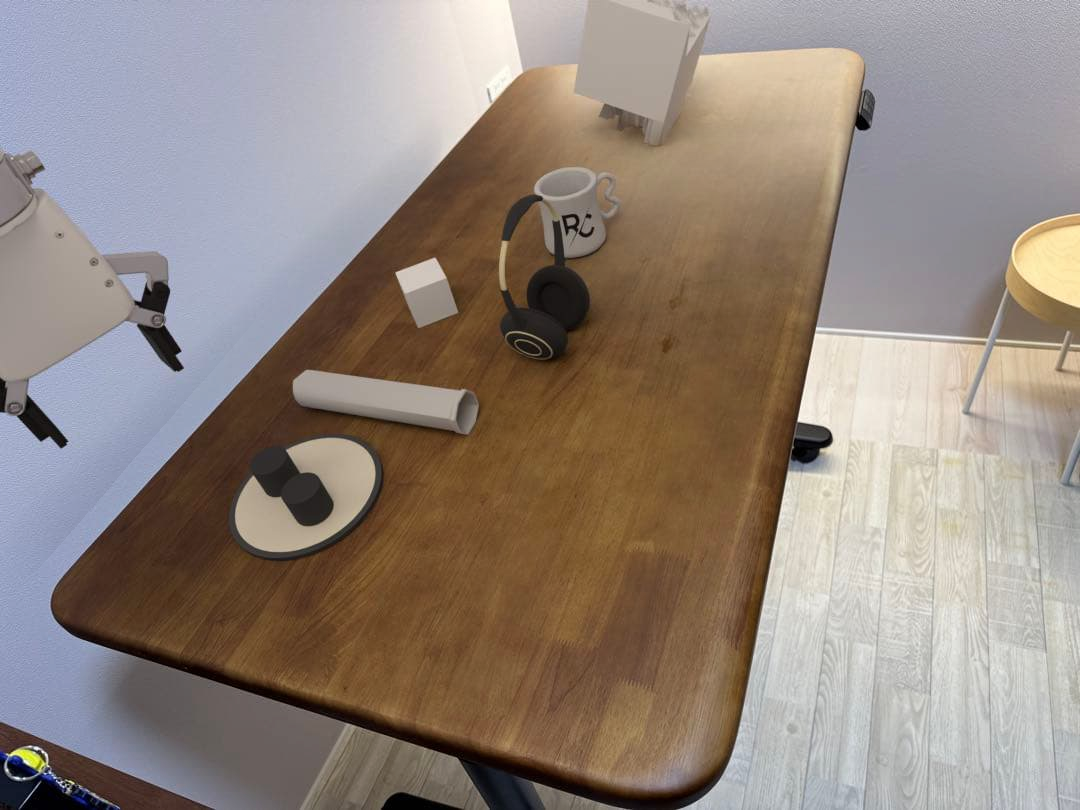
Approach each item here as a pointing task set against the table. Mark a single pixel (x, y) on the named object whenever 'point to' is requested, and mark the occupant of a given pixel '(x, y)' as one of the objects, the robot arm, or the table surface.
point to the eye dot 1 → (273, 469)
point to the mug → (575, 208)
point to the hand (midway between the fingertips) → (118, 400)
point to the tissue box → (640, 61)
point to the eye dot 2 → (307, 499)
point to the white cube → (427, 292)
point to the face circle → (346, 478)
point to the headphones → (542, 295)
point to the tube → (388, 400)
